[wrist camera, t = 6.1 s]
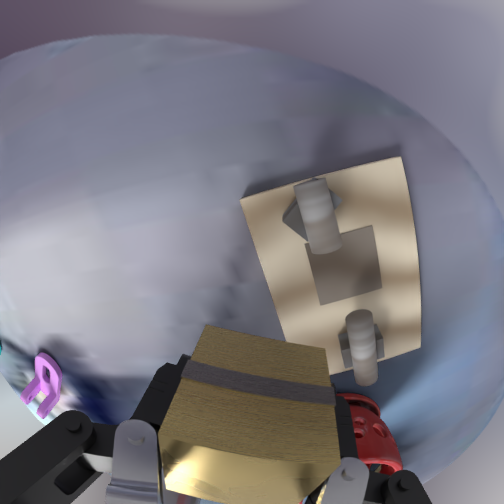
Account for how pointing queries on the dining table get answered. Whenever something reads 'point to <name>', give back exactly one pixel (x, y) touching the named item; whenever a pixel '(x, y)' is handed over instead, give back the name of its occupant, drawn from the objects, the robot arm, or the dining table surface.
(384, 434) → the plant pot
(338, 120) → the dining table surface
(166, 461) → the coupling block
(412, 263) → the shaft board
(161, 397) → the robot arm
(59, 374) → the bracket
